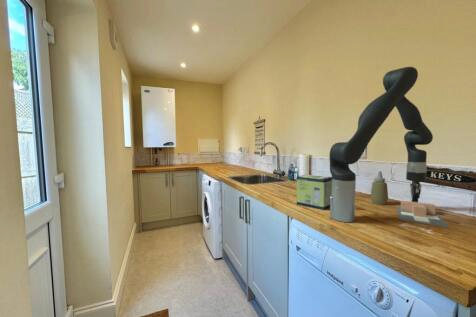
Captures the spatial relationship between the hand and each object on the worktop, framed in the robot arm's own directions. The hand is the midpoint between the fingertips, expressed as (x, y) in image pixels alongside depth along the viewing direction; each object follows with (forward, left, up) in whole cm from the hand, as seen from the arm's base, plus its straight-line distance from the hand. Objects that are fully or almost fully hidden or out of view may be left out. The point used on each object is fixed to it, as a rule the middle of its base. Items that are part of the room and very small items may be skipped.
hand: (414, 205), depth 104 cm
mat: (0, -14, -2) cm, 14 cm away
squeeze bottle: (-15, +1, -2) cm, 15 cm away
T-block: (0, -10, -1) cm, 10 cm away
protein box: (-44, -20, -2) cm, 48 cm away
